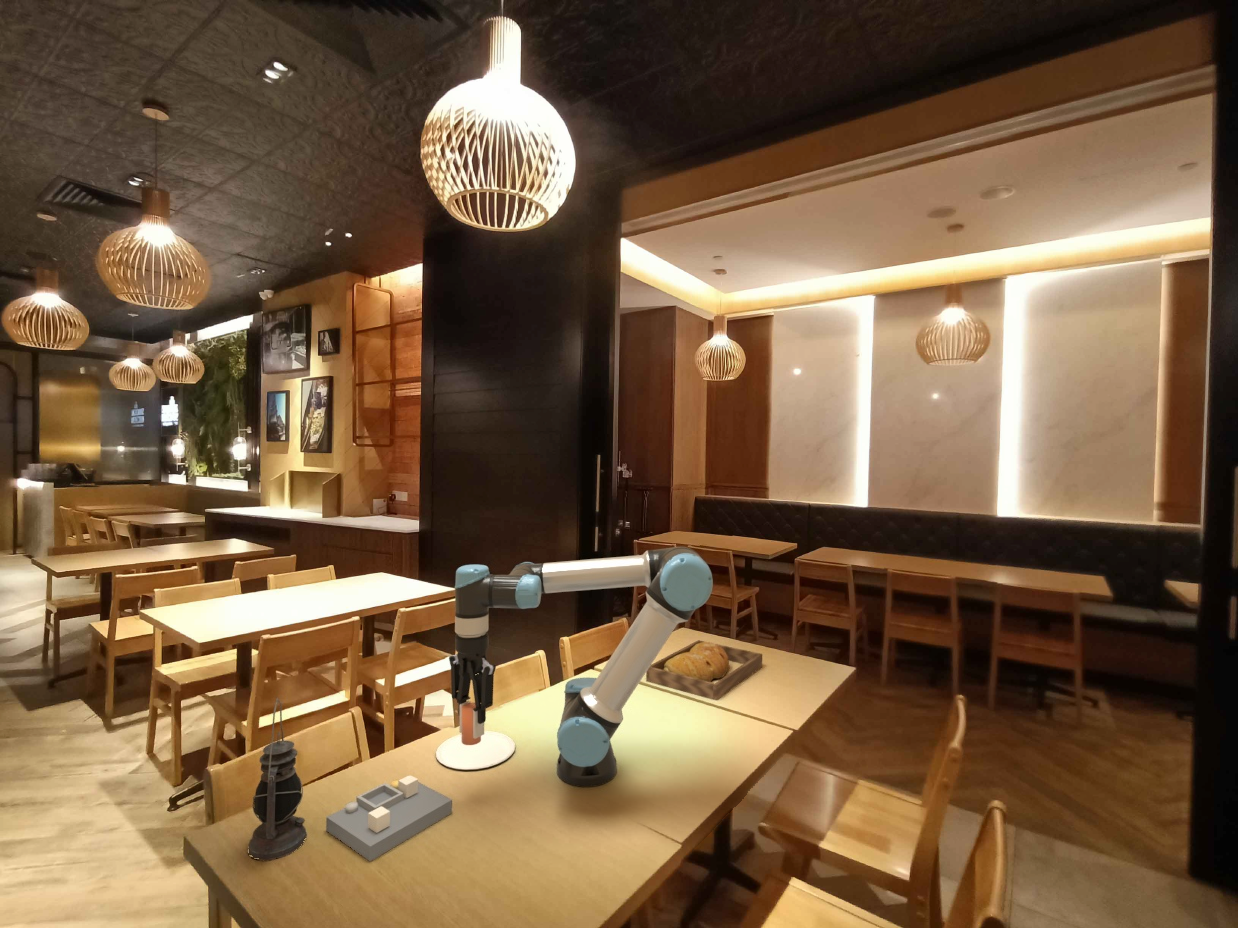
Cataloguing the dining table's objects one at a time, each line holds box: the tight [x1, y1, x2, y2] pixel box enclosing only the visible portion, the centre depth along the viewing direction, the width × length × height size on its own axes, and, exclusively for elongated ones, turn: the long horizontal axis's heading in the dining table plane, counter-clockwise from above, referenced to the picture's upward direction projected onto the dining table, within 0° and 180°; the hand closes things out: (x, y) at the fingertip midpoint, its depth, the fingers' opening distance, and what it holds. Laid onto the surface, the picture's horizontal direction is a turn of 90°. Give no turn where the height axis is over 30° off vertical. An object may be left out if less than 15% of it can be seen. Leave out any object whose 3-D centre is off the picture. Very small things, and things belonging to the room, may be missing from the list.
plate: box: [435, 730, 516, 771], centre depth 162 cm, size 21×21×1 cm
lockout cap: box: [461, 701, 481, 745], centre depth 140 cm, size 4×4×8 cm
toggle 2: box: [398, 775, 419, 798], centre depth 136 cm, size 3×3×3 cm
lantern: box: [247, 697, 308, 861], centre depth 123 cm, size 12×11×30 cm
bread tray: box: [645, 639, 763, 701], centre depth 223 cm, size 27×39×5 cm
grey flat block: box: [325, 779, 453, 862], centre depth 131 cm, size 16×20×4 cm
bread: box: [663, 641, 730, 682], centre depth 225 cm, size 32×20×10 cm, turn 144°
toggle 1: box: [368, 806, 390, 833], centre depth 124 cm, size 3×3×3 cm
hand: (471, 732), depth 140 cm, fingers closed on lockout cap, 4 cm apart
